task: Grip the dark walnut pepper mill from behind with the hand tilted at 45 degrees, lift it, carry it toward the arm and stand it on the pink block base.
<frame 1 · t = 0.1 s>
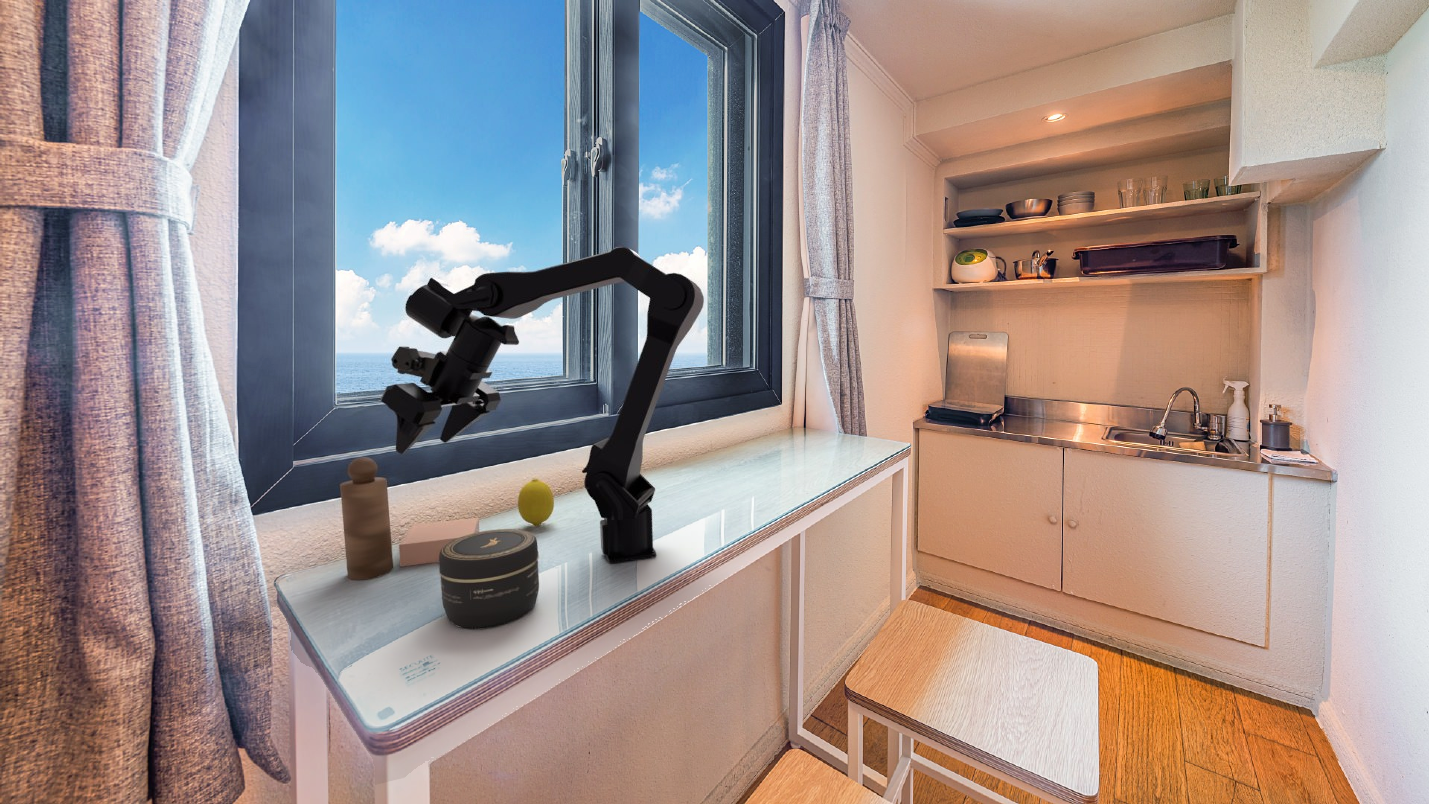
hand: (422, 446, 78), 15 cm above the table, tool tilted 35°, fingers open, 9 cm apart
jar: (493, 611, 58), on the table
lemon: (537, 527, 86), on the table
pink block base: (443, 550, 76), on the table
pepper mill: (371, 572, 69), on the table
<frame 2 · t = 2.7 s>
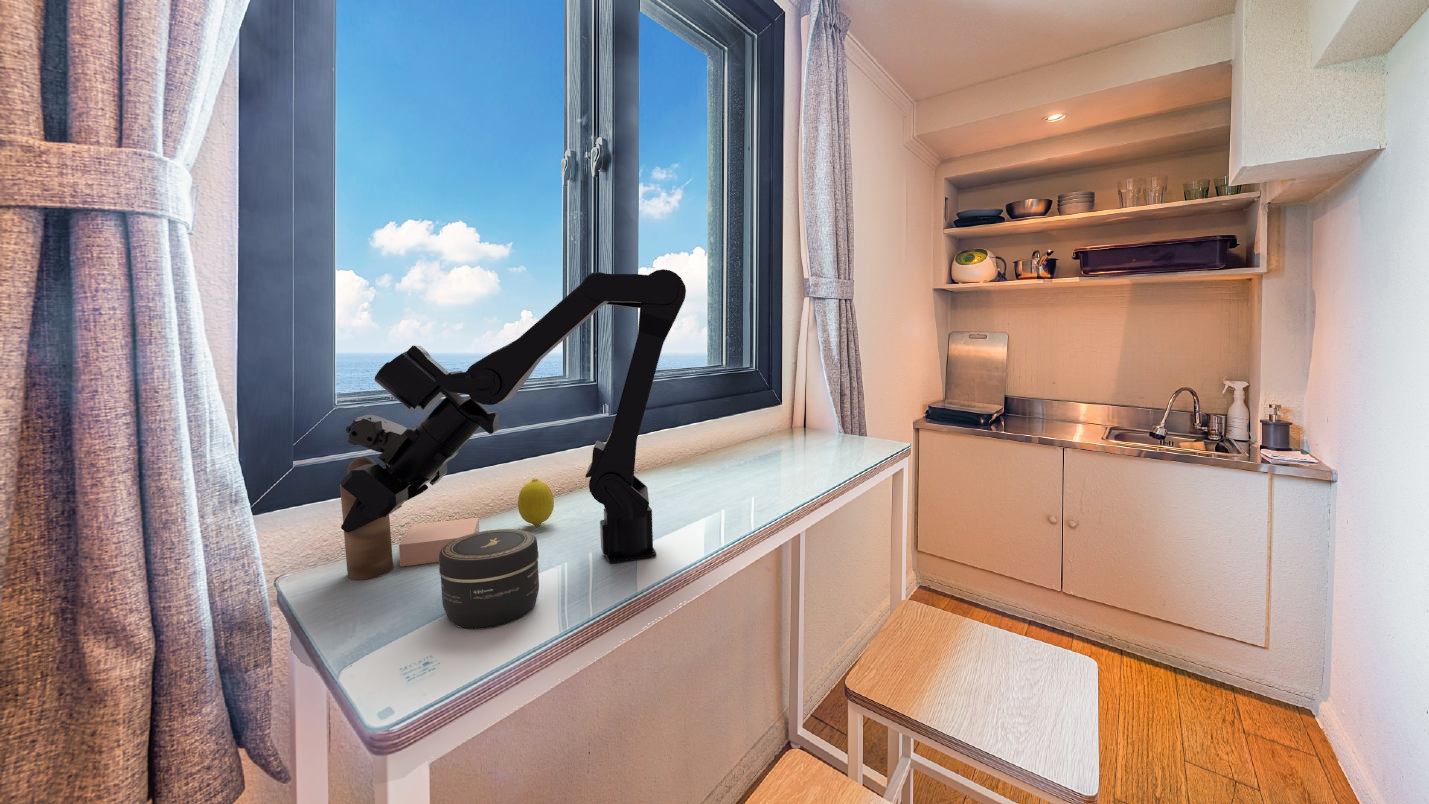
hand: (355, 523, 68), 7 cm above the table, tool tilted 45°, fingers closed on pepper mill, 5 cm apart
pepper mill: (370, 571, 69), on the table, touching gripper
everything else where it was.
when the fingers open (11 cm above the table, at t = 5.4 s): pepper mill drops 1 cm, resting on pink block base.
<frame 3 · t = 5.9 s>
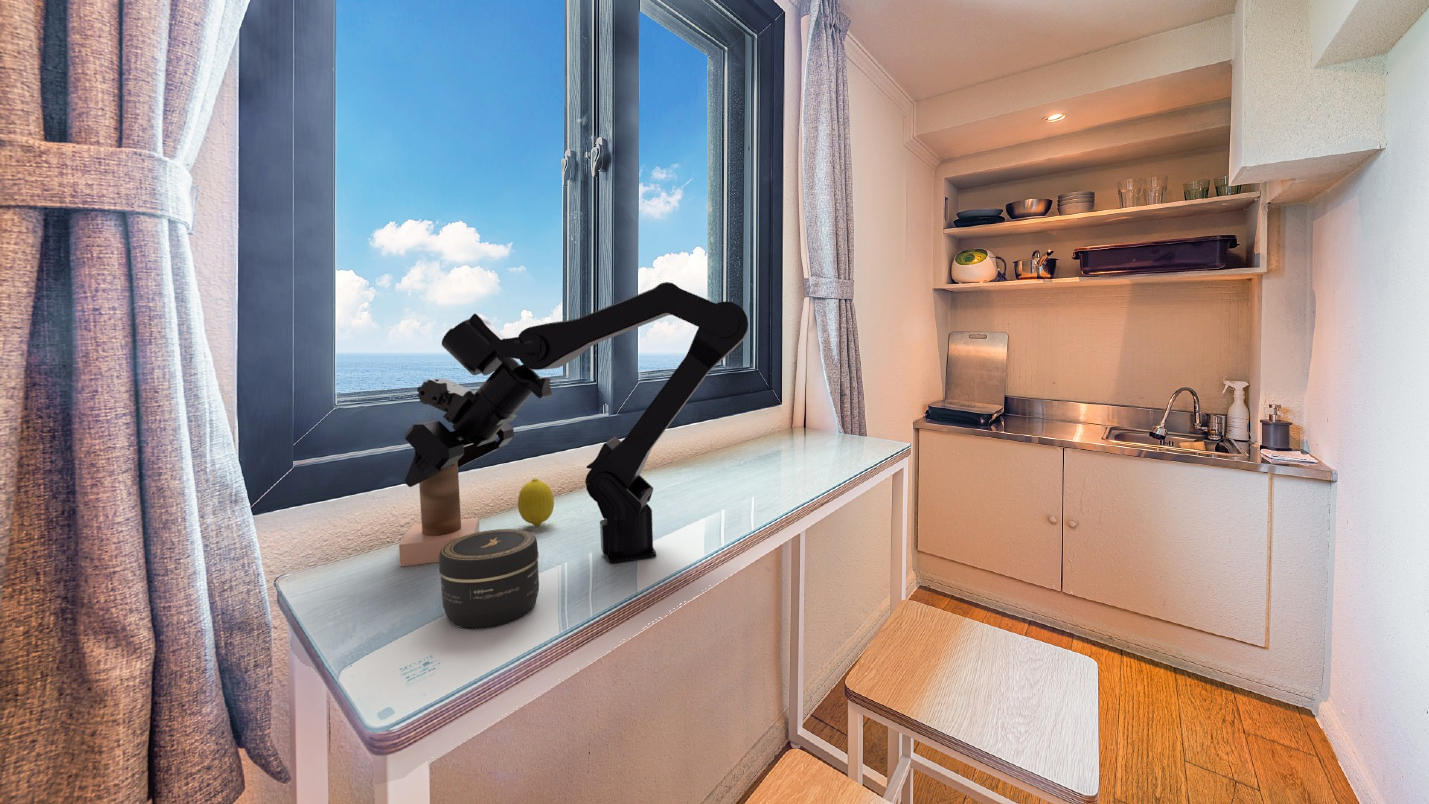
hand: (428, 476, 75), 11 cm above the table, tool tilted 45°, fingers open, 9 cm apart
pepper mill: (442, 529, 76), point 3 cm above the table, touching pink block base
everything else where it was.
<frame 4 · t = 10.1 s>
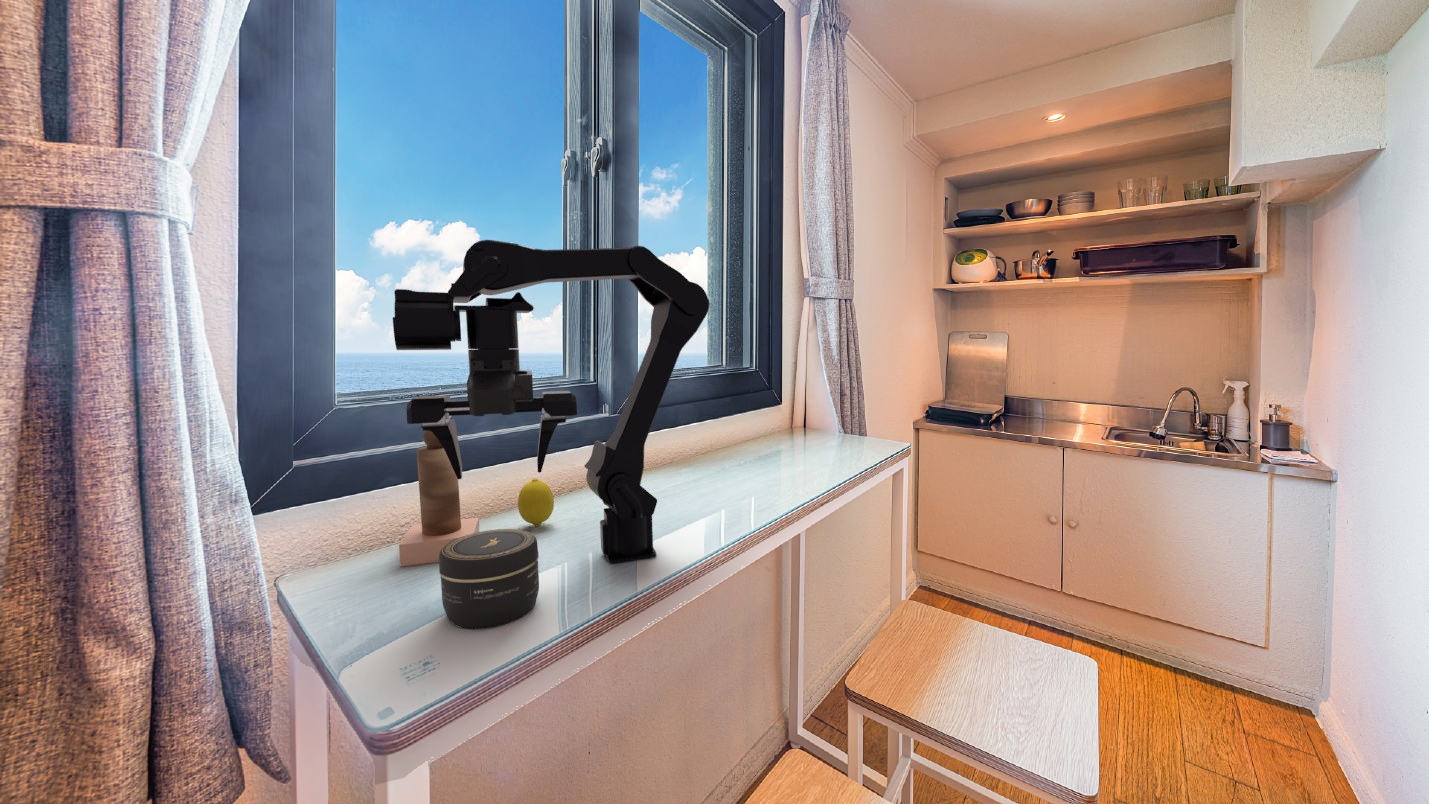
hand: (500, 475, 66), 13 cm above the table, tool pointing down, fingers open, 9 cm apart
nothing on the table moved.
at the end: pepper mill inside the target area on the pink block base (0.0 cm from its centre), point 3.0 cm above the pink block base's base; pepper mill tilted 0°; the gripper is holding nothing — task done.
